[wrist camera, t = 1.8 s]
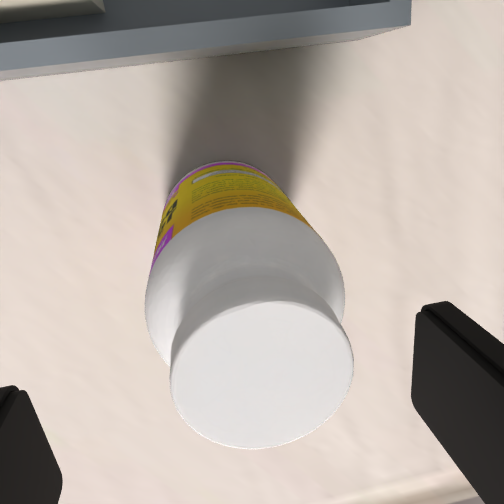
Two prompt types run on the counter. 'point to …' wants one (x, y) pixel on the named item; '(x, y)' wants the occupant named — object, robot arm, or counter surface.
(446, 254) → the counter surface
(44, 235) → the counter surface
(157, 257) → the supplement bottle
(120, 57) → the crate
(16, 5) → the cream rectangular box
